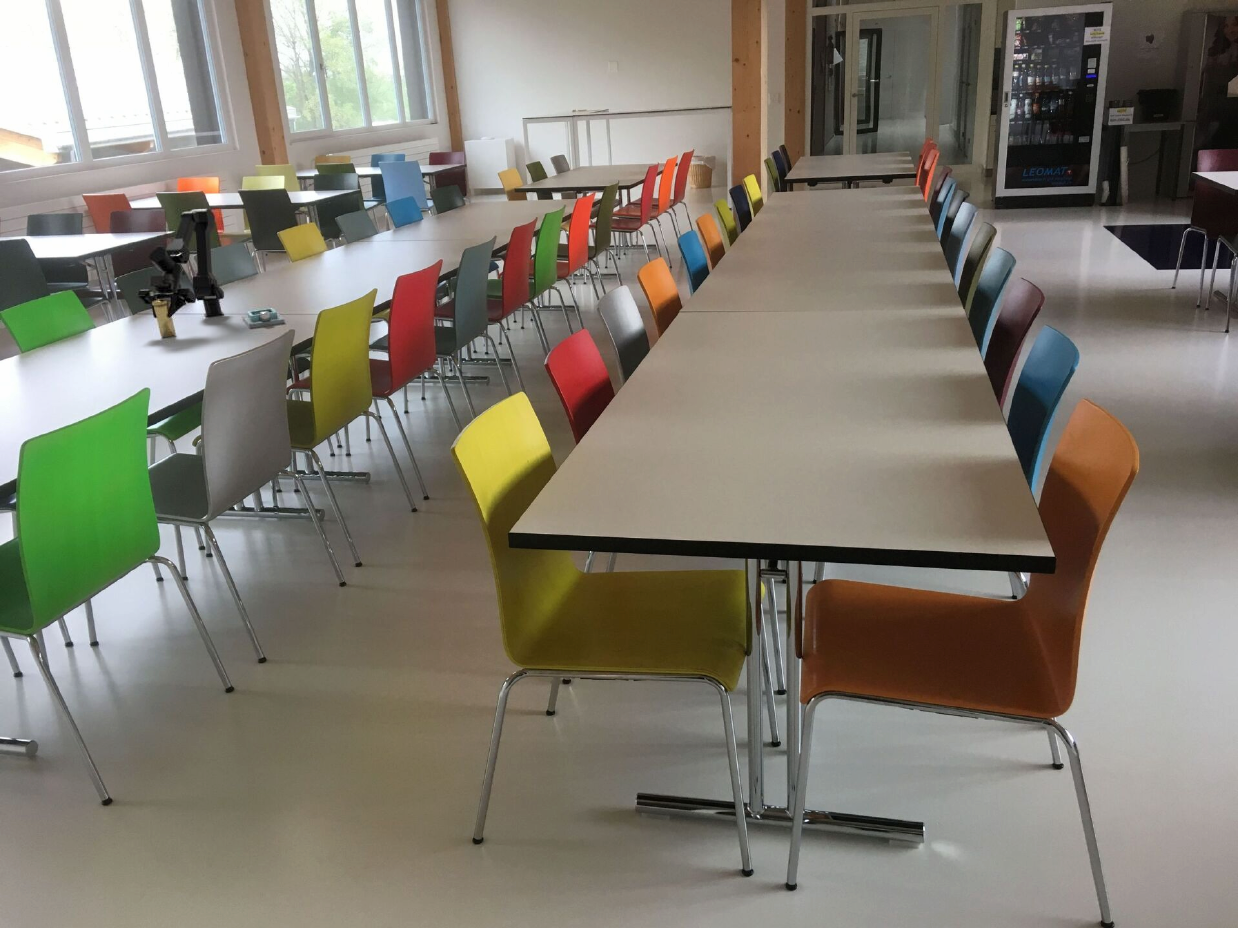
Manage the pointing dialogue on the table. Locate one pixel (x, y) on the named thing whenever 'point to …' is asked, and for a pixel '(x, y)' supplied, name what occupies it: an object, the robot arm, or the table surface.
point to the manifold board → (261, 324)
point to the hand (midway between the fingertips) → (161, 317)
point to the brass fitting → (164, 317)
